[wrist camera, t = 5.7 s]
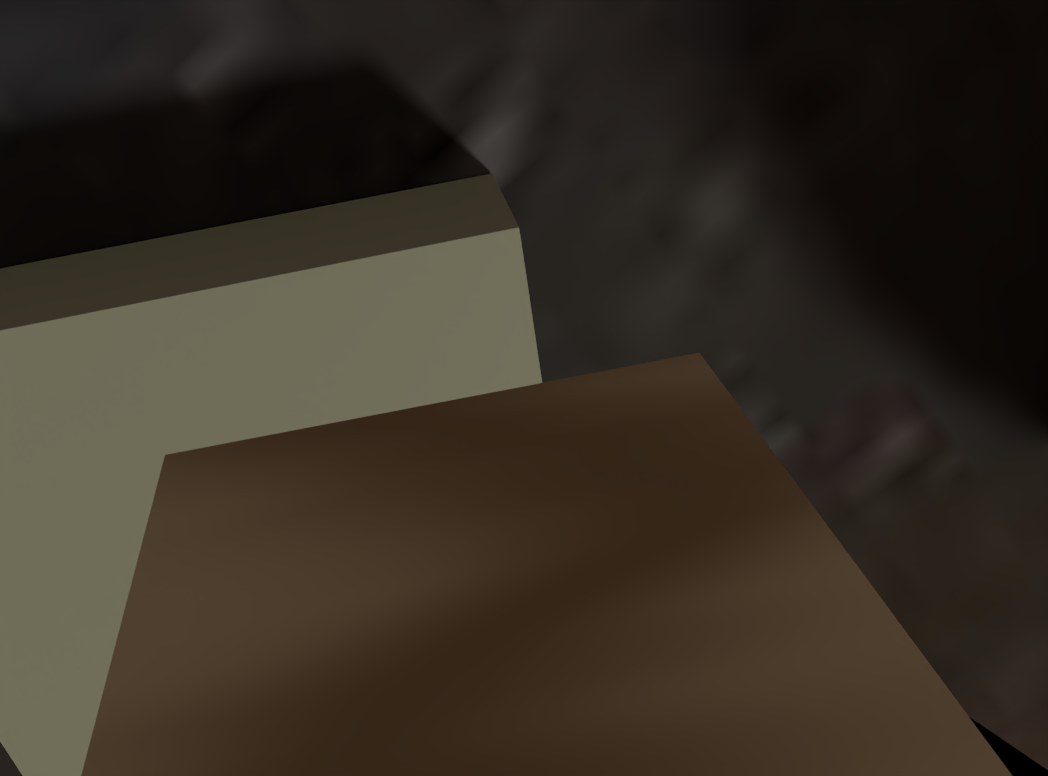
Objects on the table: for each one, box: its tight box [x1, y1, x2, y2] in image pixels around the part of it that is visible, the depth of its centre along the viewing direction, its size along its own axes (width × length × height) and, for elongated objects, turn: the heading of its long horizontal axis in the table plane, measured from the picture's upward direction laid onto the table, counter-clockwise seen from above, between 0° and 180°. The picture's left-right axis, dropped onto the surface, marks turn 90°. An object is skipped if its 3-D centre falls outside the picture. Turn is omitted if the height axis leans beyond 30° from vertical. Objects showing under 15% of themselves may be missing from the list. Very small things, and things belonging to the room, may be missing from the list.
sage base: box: [0, 174, 542, 776], centre depth 19 cm, size 12×12×3 cm
